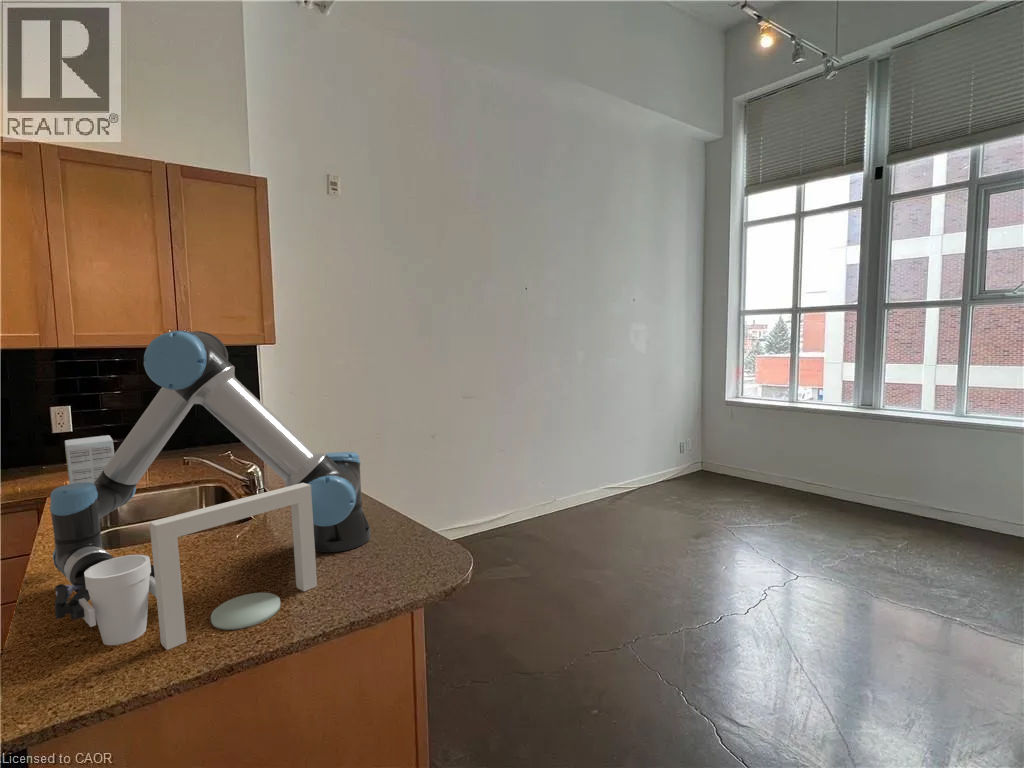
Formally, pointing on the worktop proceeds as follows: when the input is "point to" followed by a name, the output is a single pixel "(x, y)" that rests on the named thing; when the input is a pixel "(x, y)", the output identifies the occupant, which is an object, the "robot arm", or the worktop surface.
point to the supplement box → (88, 457)
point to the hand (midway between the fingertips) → (129, 605)
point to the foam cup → (120, 597)
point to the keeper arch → (167, 530)
